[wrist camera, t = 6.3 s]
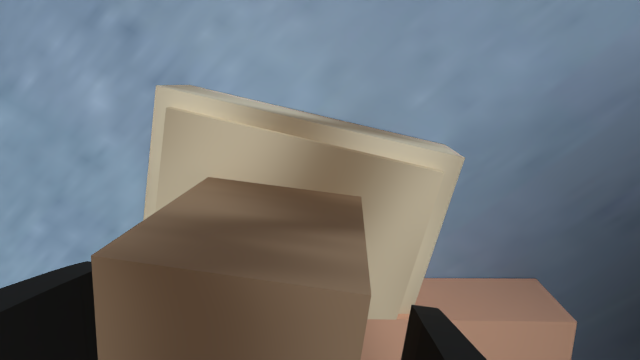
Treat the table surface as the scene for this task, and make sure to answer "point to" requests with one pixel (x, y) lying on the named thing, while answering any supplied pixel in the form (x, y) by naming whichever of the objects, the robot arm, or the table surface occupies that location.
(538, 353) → the salmon pink slab
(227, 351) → the walnut block
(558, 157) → the table surface
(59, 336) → the robot arm
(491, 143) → the table surface
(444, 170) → the birch plinth
